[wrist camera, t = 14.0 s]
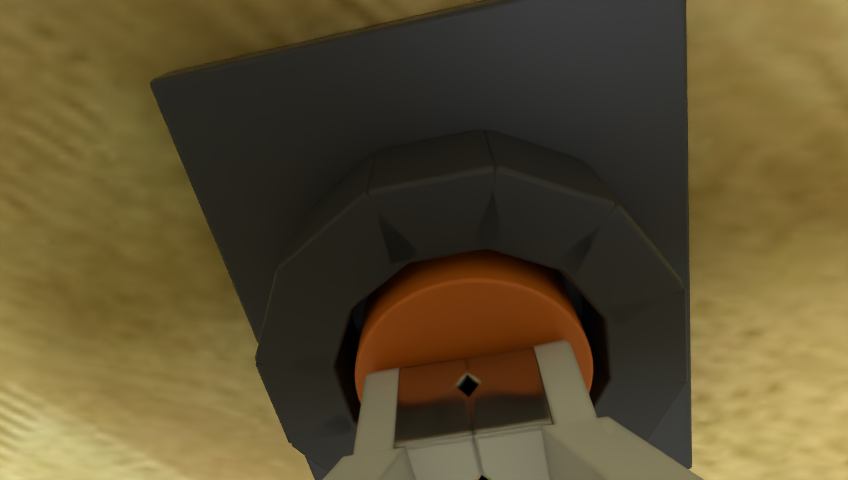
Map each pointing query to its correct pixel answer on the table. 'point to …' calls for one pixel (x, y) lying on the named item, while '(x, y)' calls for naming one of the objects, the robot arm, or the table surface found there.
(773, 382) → the table surface
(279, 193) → the box
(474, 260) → the button
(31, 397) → the table surface
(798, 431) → the table surface
